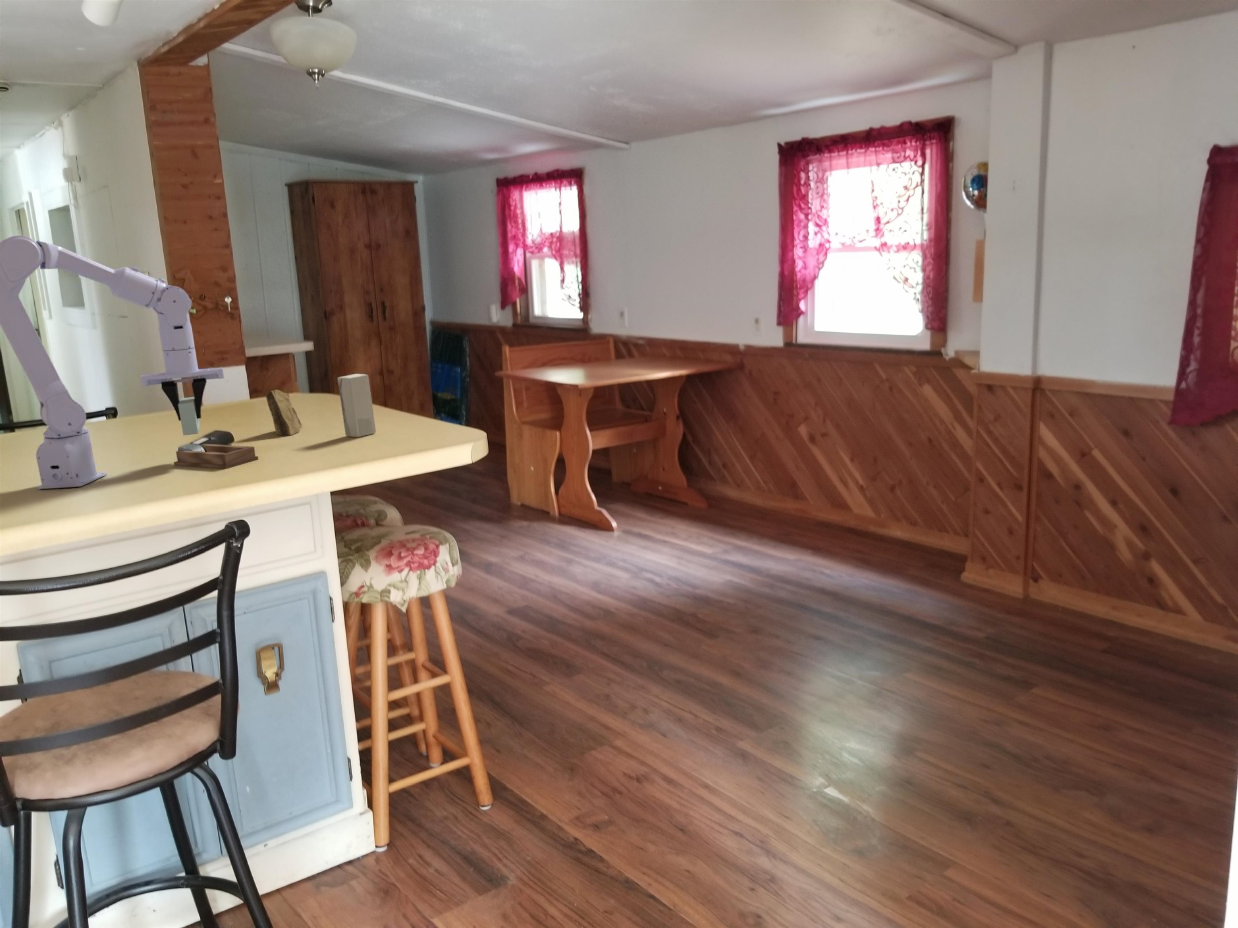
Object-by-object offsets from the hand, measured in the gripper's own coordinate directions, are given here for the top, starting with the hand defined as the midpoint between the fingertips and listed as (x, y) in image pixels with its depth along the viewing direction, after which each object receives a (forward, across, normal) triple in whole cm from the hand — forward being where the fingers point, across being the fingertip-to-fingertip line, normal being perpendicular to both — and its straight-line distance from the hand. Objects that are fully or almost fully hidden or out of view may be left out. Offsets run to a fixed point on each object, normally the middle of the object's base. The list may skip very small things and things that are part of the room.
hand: (190, 418), depth 187 cm
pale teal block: (+2, 0, 0) cm, 2 cm away
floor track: (+8, -4, +4) cm, 10 cm away
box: (+9, -32, -7) cm, 34 cm away
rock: (+9, -19, -22) cm, 31 cm away
